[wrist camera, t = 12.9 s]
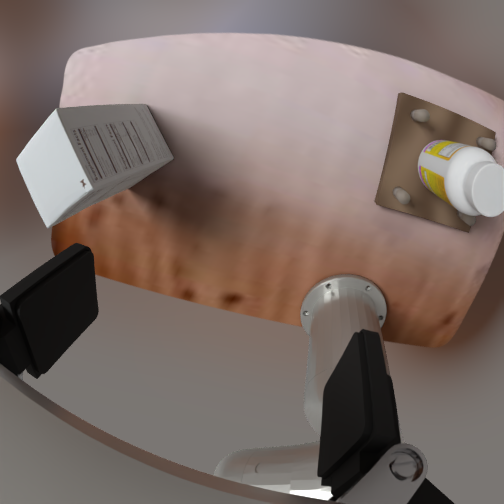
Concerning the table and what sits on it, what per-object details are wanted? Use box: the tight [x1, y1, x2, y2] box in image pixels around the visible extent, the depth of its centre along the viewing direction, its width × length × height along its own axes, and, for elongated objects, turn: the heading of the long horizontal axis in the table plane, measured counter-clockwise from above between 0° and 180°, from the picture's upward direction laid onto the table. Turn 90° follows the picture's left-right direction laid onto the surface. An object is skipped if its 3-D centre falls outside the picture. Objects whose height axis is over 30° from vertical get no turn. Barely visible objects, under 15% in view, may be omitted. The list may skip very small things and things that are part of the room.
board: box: [375, 93, 496, 233], centre depth 30 cm, size 14×14×4 cm
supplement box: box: [16, 104, 174, 228], centre depth 31 cm, size 10×9×17 cm
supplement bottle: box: [418, 140, 504, 217], centre depth 25 cm, size 7×7×13 cm
